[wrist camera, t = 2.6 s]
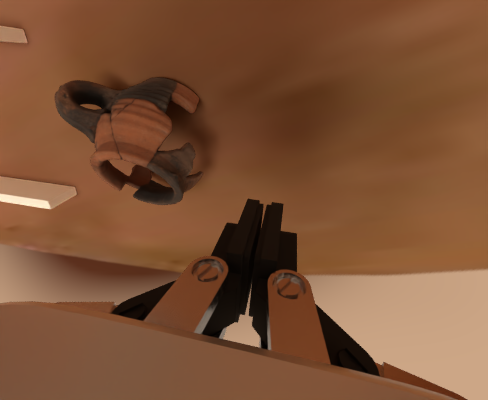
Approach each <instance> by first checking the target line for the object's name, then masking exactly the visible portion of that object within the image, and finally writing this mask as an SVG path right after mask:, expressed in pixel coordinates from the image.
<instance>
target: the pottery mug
mask: <svg viewBox="0 0 488 400" xmlns="http://www.w3.org/2000/svg"><path fill="white" fill-rule="evenodd" d="M170 101H173V102H175V103H177V104H178V105H180V106H181V107H183V108H184V109H186V110H187V111H188V112H189V113H194V112H195V111H196V109H197V104H198V102H199V97H198V96H197V95H196V94H195V93H194V92H193V91H191V90H190V89H188V88H187V87H186V86H184V85H182V84H180V83H177V82H176V81H173V80H170V79H166V78H150V79H148V80H146V81H144V82H142V83H140V84H138V85H135V86H132V87H129V88H128V89H124V90H122V91H121V90H114V89H110V88H108V87H105V86H103V85H100V84H97V83H93V82H89V81H80V80H76V81H70V82H68V83H65V84H64V85H61V86H60V87H59V90H58V91H57V92H56V93H55V103H56V108H57V110H58V112H59V114H60V116H61V117H62V118H63V119H64V120H65V121H66V122H68V123H69V124H70V125H72V126H73V127H75V128H76V129H78V130H80V131H81V132H83V133H84V134H85V135H86V136H87V137H88V138H89V139H90V141H91V142H92V143H94V144H95V145H94V146H95V148H96V152H95V153H94V154H93V155H92V156H91V159H90V163H91V166H92V168H93V170H94V171H95V173H96V174H97V175H98V176H99V177H100V178H101V179H103V181H105V182H106V183H107V184H109V185H110V186H111V187H113V188H115V189H116V190H119V191H120V190H121V189H122V188H123V186H124V185H125V184H128V185H129V186H132V187H134V188H137V189H138V190H137V191H136V192H135V194H134V195H133V197H134V198H136V199H138V200H140V201H144V202H147V203H151V204H157V205H168V204H176V203H177V202H180V201H181V200H182V198H183V193H184V192H186V191H187V190H190V189H191V188H192V187H193V186H194V185H195V184H196V183H197V182H198V181H199V180H200V178H201V177H202V175H203V172H198V173H197V174H194V175H189V174H190V173H191V170H192V168H193V160H194V158H195V155H196V154H195V151H194V149H193V146H192V145H191V144H190V143H186V144H185V145H184V146H183V147H182V148H181V149H175V150H170V151H158V149H159V148H160V146H161V145H162V143H163V141H164V140H165V139H166V137H167V136H168V135H169V134H170V133H171V131H172V122H171V119H170V118H169V117H168V116H167V115H166V114H165V112H166V111H167V106H168V103H169V102H170ZM82 104H94V105H97V106H99V107H101V108H102V109H99V110H92V109H88V108H84V107H82V106H80V105H82ZM110 159H116V160H125V161H128V162H132V163H135V164H138V165H135V166H134V167H133V168H132V173H131V175H130V176H127V175H125V174H124V173H122V172H121V171H119V170H118V169H116V168H115V167H114V166H112V164H111V163H110V162H109V161H108V160H110ZM140 165H141V166H140ZM151 171H153V172H154V173H156V174H158V175H159V176H161V177H162V178H163V179H164V180H166V182H167V183H168V184H169V185H170V186H171V187H165V186H162V185H161V184H159V183H156V182H155V181H152V180H151V178H152V175H151ZM188 175H189V176H188Z"/></svg>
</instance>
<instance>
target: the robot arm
mask: <svg viewBox="0 0 488 400" xmlns="http://www.w3.org/2000/svg"><path fill="white" fill-rule="evenodd" d="M259 202H260V201H259V200H252V199H248V200H247V202H246V205H245V207H244V210H243V212H242V215H241V217H240V220H239V222H238V224H233V223H227V224H226V226H225V228H224V230H223V232H222V234H221V236H220V238H219V240H218V242H217V244H216V246H215V248H214V250H213V252H212V255H211V256H203V257H199V258H197V259H195V260H194V261H192V262H191V263H190V264H189V265H188V267H187V268H186V269H185V270H184V272H183V273H182V274H181V275H180V277H179V278H178V279H177V280H175V281H173V282H170V283H168V284H165V285H163V286H160V287H158V288H156V289H153V290H150V291H148V292H145V293H143V294H141V295H138V296H136V297H133V298H131V299H128V300H126V301H124V302H122V303H121V304H120V305H115V302H58V303H46V302H33V301H31V302H7V303H0V400H467V399H465V398H464V397H462V396H460V395H458V394H456V393H454V392H452V391H449V390H447V389H444V388H442V387H440V386H437V385H435V384H433V383H431V382H428V381H426V380H424V379H422V378H419V377H417V376H415V375H412V374H410V373H408V372H405V371H403V370H401V369H398V368H396V367H394V366H391V365H389V364H387V363H385V362H383V364H382V365H380V364H378V363H375V362H374V361H373V359H372V358H371V357H370V355H369V354H368V353H367V352H366V351H365V350H364V349H363V348H362V347H361V346H360V345H359V344H357V343H356V341H354V340H353V339H352V338H351V337H350V336H349V335H348V334H347V333H346V332H345V331H344V330H343V329H342V328H341V327H339V325H337V324H336V323H335V322H334V321H333V320H332V319H331V318H330V317H329V316H328V315H327V314H326V313H325V312H323V310H322V309H321V308H319V307H318V306H317V305H316V304H315V301H314V298H313V294H312V290H311V286H310V284H309V282H308V280H307V279H306V278H305V277H304V276H302V275H301V274H300V273H297V234H296V233H291V232H284V231H281V222H282V213H283V204H281V203H274V202H272V204H271V205H267V206H266V211H265V215H264V219H263V223H262V214H263V204H259ZM261 224H262V228H261ZM251 284H252V288H251ZM250 289H251V299H250V308H249V316H251V317H253V322H252V326H253V328H254V329H255V330H256V332H257V333H258V334H259V336H260V341H259V348H258V347H254V346H250V345H245V344H241V343H237V342H232V341H228V340H223V337H224V335H225V332H226V327H227V326H229V325H230V324H232V323H234V322H238V320H239V316H240V314H242V315H245V312H246V307H247V302H248V298H249V293H250Z"/></svg>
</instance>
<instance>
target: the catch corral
mask: <svg viewBox="0 0 488 400" xmlns="http://www.w3.org/2000/svg"><path fill="white" fill-rule="evenodd" d="M0 42H16V43H28V42H27V39H26V36H25V33H24V30H23V29H19V28H12V27H6V26H0ZM75 195H77V192H76V189H75V187H73V186H66V185H59V184H52V183H45V182H37V181H30V180H23V179H16V178H9V177H2V176H0V201H2V202H8V203H15V204H21V205H27V206H33V207H40V208H46V209H53V208H54V207H56V206H58V205H60V204H61V203H63V202H65V201H67V200H68V199H70V198H72V197H74V196H75Z"/></svg>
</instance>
